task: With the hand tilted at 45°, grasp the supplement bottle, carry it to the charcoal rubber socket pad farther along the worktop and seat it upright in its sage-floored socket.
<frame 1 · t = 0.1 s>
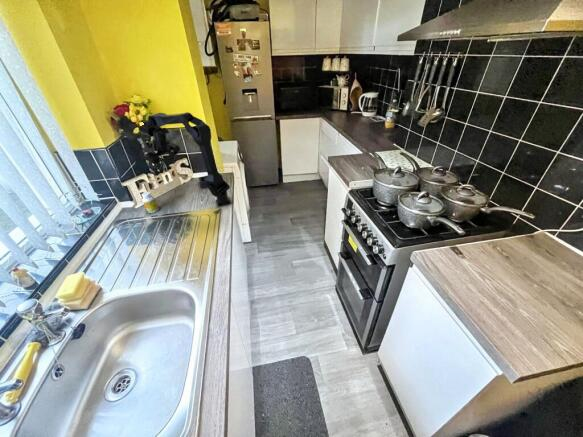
hand: (165, 166, 133), 15 cm above the countertop, tool pointing down, fingers open, 9 cm apart
pad socket: (208, 183, 148), on the countertop
supplement bottle: (153, 210, 127), on the countertop
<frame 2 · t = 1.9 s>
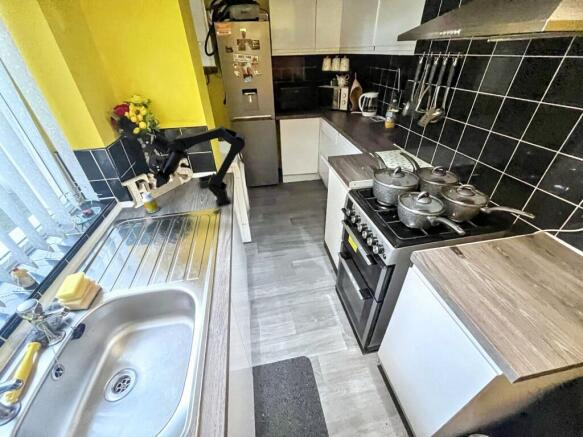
hand: (160, 183, 121), 14 cm above the countertop, tool tilted 40°, fingers open, 9 cm apart
nothing on the countertop moved.
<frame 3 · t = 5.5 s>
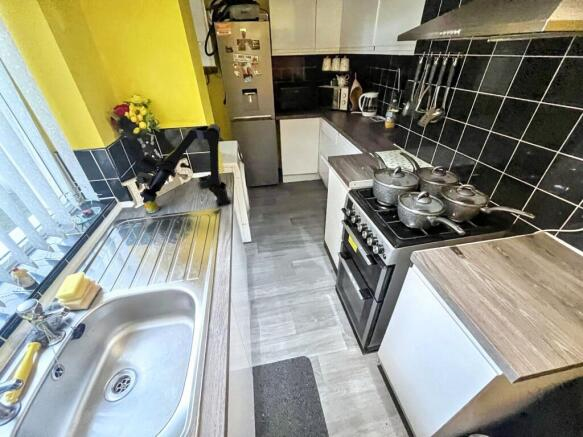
hand: (145, 199, 123), 7 cm above the countertop, tool tilted 45°, fingers closed on supplement bottle, 5 cm apart
supplement bottle: (153, 210, 127), on the countertop, touching gripper
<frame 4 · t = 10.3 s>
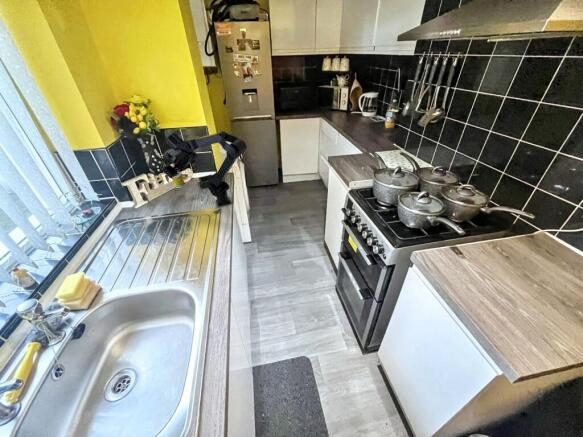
hand: (174, 174, 132), 12 cm above the countertop, tool tilted 45°, fingers closed on supplement bottle, 5 cm apart
supplement bottle: (180, 186, 135), point 5 cm above the countertop, touching gripper
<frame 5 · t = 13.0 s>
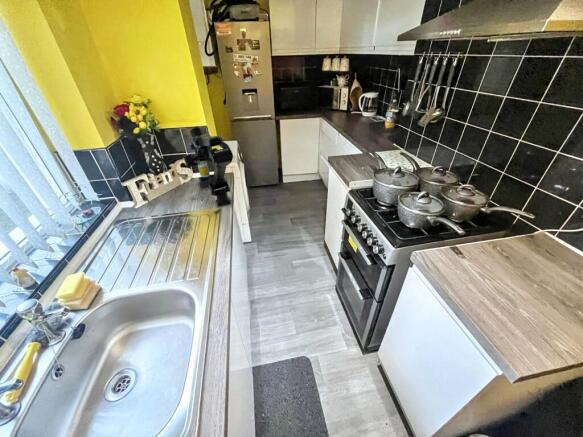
hand: (201, 164, 142), 12 cm above the countertop, tool tilted 45°, fingers closed on supplement bottle, 5 cm apart
supplement bottle: (205, 175, 145), point 6 cm above the countertop, touching gripper
when the fingers open (7 cm above the countertop, at t = 15.1 s): supplement bottle stays where it is, resting on pad socket.
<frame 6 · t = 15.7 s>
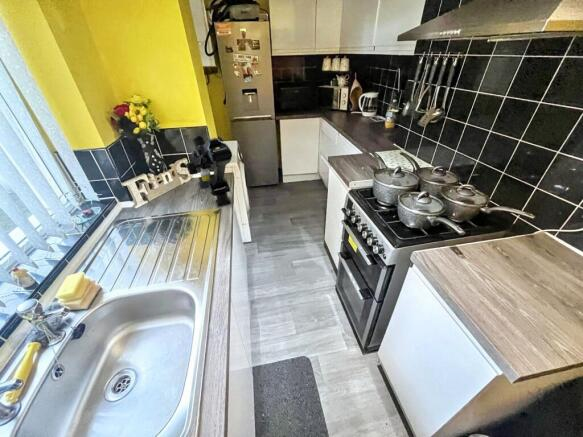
hand: (204, 170, 145), 8 cm above the countertop, tool tilted 45°, fingers open, 9 cm apart
supplement bottle: (207, 183, 148), point 1 cm above the countertop, touching pad socket
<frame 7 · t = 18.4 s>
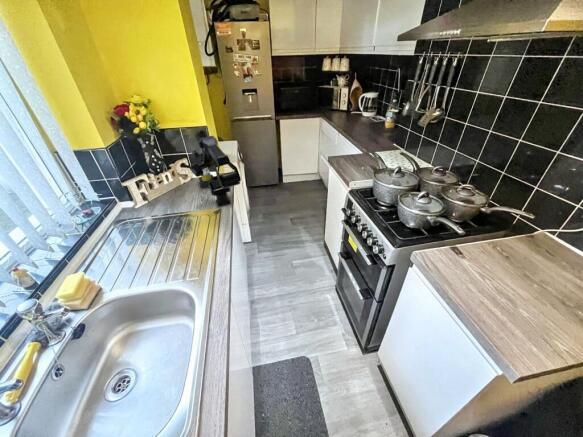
hand: (208, 171, 135), 11 cm above the countertop, tool tilted 40°, fingers open, 9 cm apart
nothing on the countertop moved.
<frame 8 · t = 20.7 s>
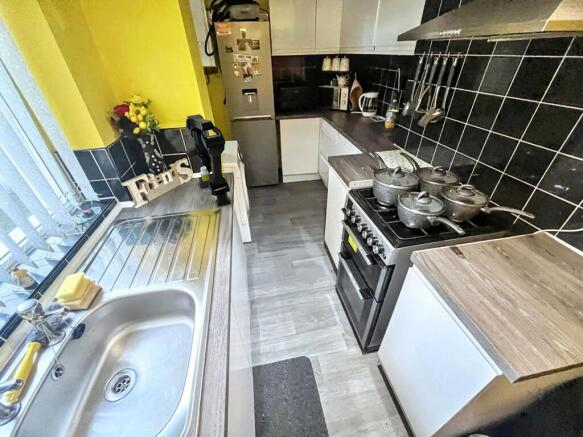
hand: (207, 169, 134), 13 cm above the countertop, tool pointing down, fingers open, 9 cm apart
nothing on the countertop moved.
at the end: supplement bottle 0.1 cm off-centre in the pad socket, point 0.5 cm above the pad socket's base; supplement bottle tilted 0°; the gripper is holding nothing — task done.
